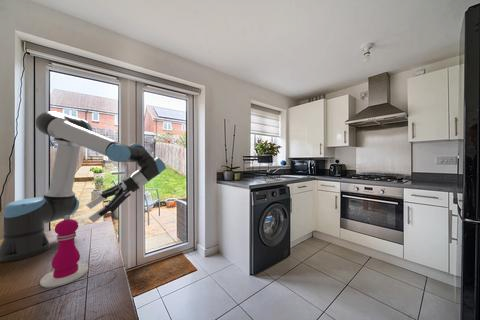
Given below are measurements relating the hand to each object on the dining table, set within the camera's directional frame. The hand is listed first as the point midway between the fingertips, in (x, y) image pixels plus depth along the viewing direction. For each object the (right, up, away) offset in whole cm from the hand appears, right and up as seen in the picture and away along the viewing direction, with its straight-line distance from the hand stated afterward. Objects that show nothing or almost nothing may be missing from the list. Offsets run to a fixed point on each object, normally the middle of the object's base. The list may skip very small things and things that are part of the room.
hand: (89, 213), depth 78 cm
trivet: (+4, -18, -15) cm, 23 cm away
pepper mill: (+4, -17, -15) cm, 23 cm away
